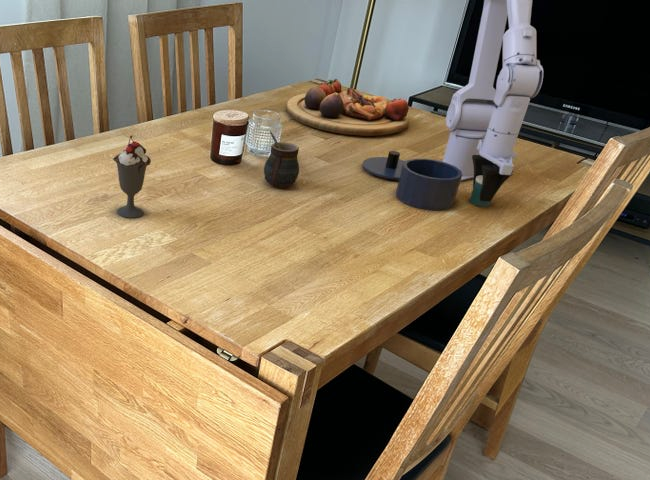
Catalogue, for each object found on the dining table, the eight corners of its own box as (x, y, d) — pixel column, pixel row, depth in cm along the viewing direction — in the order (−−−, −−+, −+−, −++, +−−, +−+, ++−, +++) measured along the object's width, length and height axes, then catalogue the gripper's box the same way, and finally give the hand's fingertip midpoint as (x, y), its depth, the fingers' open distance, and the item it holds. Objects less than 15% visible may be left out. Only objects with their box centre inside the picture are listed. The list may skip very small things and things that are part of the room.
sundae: (121, 222, 130) (123, 139, 121) (106, 207, 135) (107, 127, 126) (154, 217, 133) (158, 136, 124) (138, 203, 138) (141, 124, 129)
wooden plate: (430, 122, 192) (438, 90, 188) (366, 147, 173) (374, 112, 168) (329, 93, 210) (334, 63, 205) (261, 112, 190) (265, 80, 185)
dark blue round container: (421, 184, 155) (429, 155, 152) (464, 204, 148) (474, 174, 144) (384, 193, 150) (391, 163, 146) (427, 214, 142) (436, 183, 139)
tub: (477, 197, 151) (484, 174, 149) (494, 204, 149) (502, 181, 146) (464, 200, 149) (471, 177, 147) (481, 208, 147) (489, 184, 144)
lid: (388, 158, 167) (392, 140, 165) (430, 177, 159) (435, 158, 157) (349, 166, 161) (353, 147, 159) (391, 186, 153) (396, 166, 151)
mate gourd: (289, 194, 146) (297, 145, 140) (254, 184, 149) (261, 136, 143) (302, 183, 151) (310, 135, 146) (268, 174, 154) (275, 127, 148)
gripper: (538, 143, 134) (513, 212, 142) (510, 119, 146) (489, 183, 154) (500, 141, 134) (478, 209, 142) (476, 117, 146) (456, 181, 154)
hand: (481, 196), depth 148 cm, fingers closed on tub, 4 cm apart
